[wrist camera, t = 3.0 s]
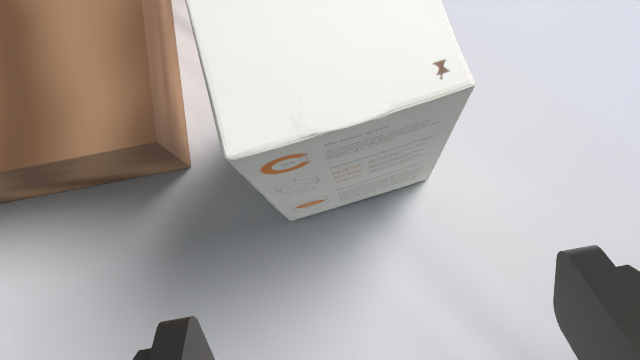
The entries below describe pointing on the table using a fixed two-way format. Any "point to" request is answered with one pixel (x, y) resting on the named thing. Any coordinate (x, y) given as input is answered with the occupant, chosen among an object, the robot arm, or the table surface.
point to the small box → (330, 94)
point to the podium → (87, 94)
